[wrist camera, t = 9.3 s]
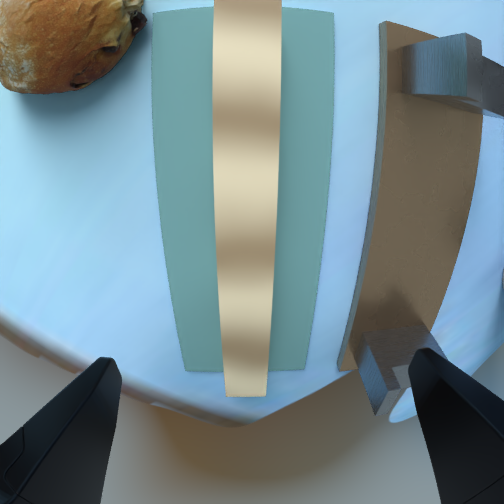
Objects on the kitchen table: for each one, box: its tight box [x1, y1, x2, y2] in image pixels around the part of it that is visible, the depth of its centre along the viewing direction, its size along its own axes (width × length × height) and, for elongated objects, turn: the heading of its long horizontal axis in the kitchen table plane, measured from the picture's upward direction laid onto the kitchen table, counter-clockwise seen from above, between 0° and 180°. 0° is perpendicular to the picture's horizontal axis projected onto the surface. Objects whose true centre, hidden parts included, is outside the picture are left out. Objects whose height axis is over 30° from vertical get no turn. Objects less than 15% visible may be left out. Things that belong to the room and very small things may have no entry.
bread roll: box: [0, 0, 147, 94], centre depth 10 cm, size 10×10×8 cm
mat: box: [152, 7, 334, 372], centre depth 18 cm, size 10×26×1 cm, turn 0°
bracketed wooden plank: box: [337, 21, 504, 416], centre depth 16 cm, size 26×8×7 cm, turn 0°
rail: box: [212, 0, 282, 397], centre depth 17 cm, size 25×3×3 cm, turn 179°
